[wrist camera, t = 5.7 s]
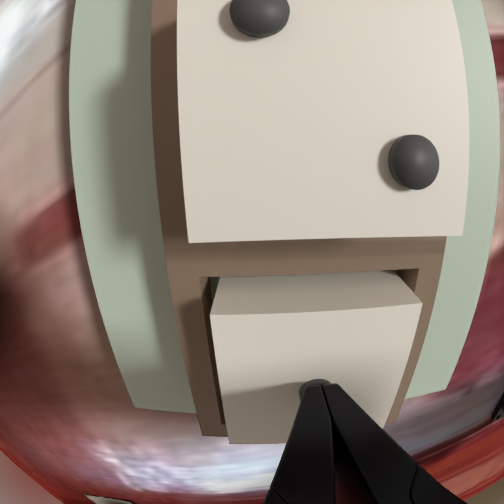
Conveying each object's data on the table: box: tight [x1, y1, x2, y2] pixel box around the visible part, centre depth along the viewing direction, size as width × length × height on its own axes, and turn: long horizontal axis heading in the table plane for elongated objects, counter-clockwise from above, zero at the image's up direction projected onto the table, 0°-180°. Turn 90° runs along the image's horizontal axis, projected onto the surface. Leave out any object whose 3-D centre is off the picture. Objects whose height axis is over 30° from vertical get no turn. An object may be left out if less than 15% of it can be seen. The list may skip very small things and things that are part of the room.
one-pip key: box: [210, 270, 423, 444], centre depth 8 cm, size 5×5×3 cm
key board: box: [69, 0, 500, 437], centre depth 8 cm, size 22×14×3 cm, turn 2°
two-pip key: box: [177, 0, 469, 243], centre depth 5 cm, size 5×5×3 cm
